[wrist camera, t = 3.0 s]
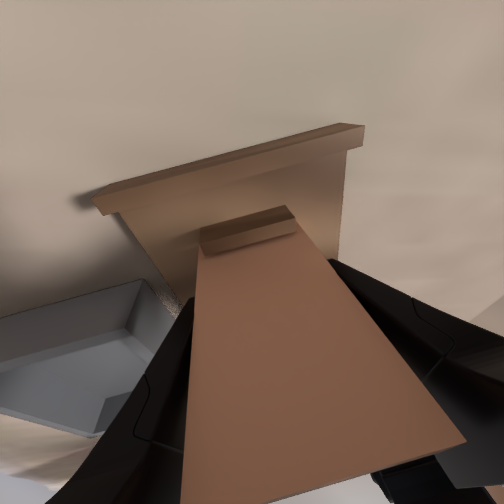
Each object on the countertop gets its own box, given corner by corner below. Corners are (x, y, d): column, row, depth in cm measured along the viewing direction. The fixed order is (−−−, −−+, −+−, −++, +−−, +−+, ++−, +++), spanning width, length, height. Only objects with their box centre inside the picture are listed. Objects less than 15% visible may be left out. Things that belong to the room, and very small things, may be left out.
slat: (296, 237, 13) (440, 451, 5) (206, 262, 13) (203, 522, 5) (294, 218, 12) (467, 442, 4) (199, 245, 12) (178, 527, 4)
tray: (209, 363, 22) (209, 404, 19) (107, 392, 22) (90, 438, 19) (143, 278, 14) (124, 327, 10) (-24, 324, 13) (-92, 388, 10)
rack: (328, 309, 20) (342, 331, 18) (213, 342, 19) (213, 368, 18) (340, 122, 10) (373, 126, 8) (109, 184, 10) (84, 203, 8)
